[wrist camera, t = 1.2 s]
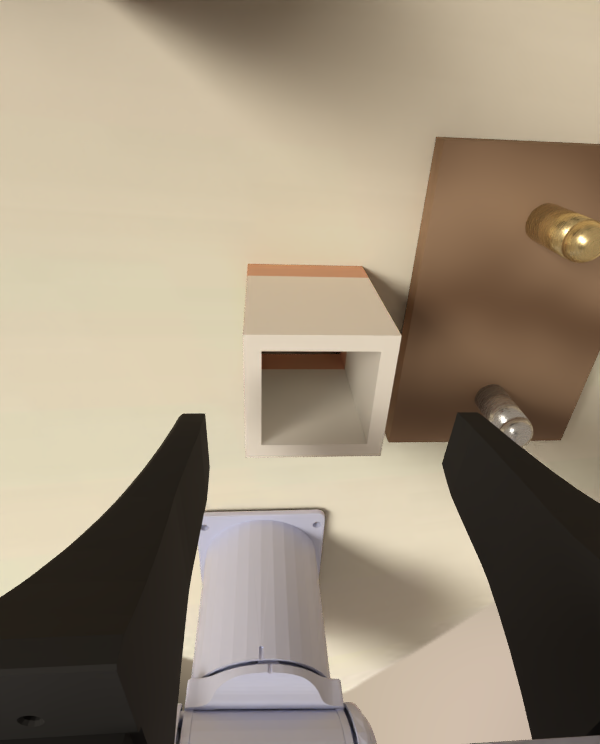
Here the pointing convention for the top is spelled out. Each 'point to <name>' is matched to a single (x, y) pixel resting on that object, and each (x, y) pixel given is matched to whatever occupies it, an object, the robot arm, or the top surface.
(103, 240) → the top surface
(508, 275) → the board
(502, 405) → the steel pin
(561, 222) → the brass pin
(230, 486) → the top surface
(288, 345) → the sleeve
